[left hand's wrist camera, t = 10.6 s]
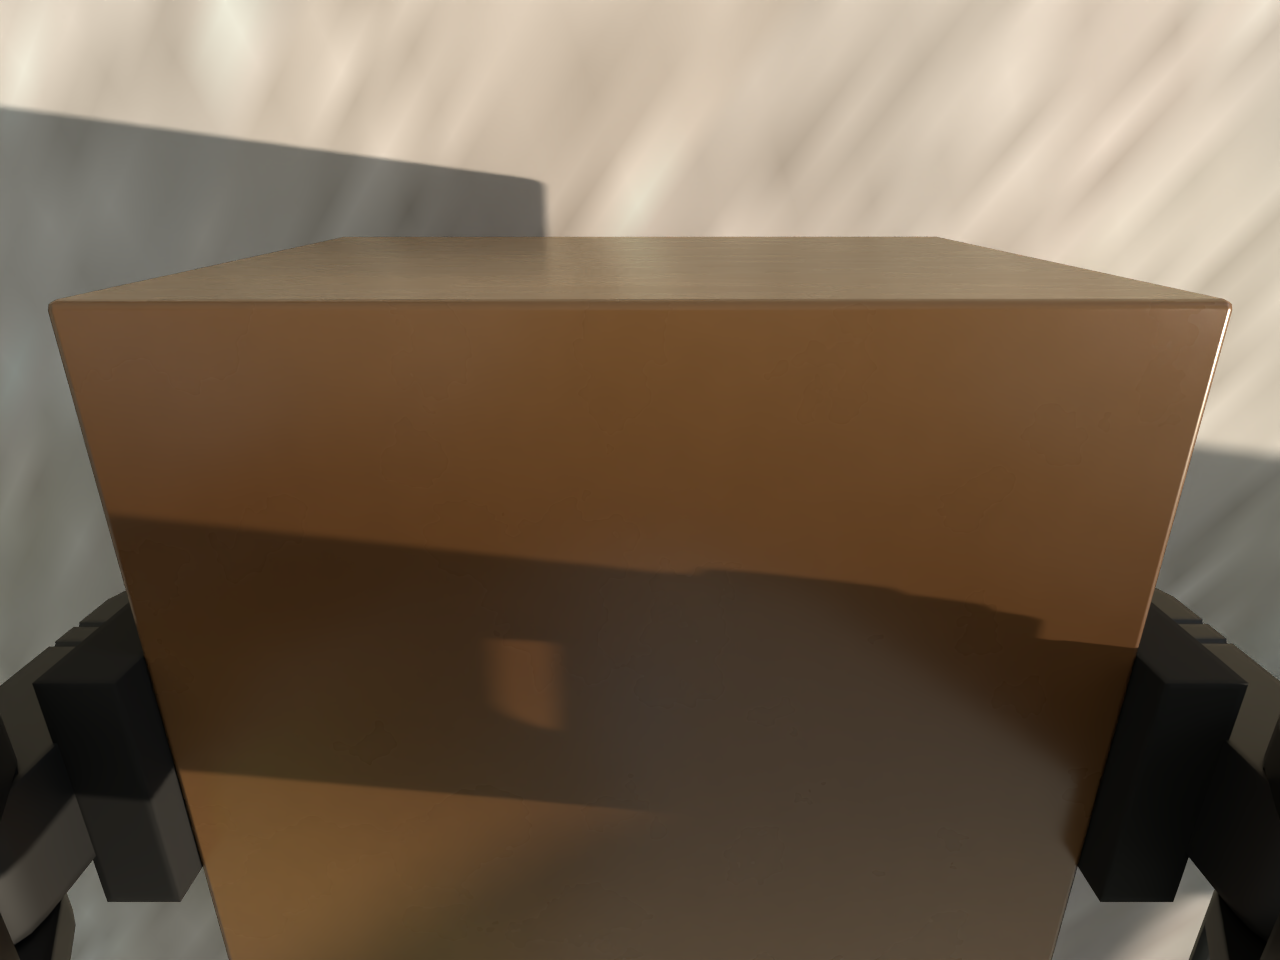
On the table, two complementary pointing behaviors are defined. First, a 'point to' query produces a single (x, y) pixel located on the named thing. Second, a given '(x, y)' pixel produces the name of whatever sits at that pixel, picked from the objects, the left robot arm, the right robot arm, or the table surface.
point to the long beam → (640, 583)
